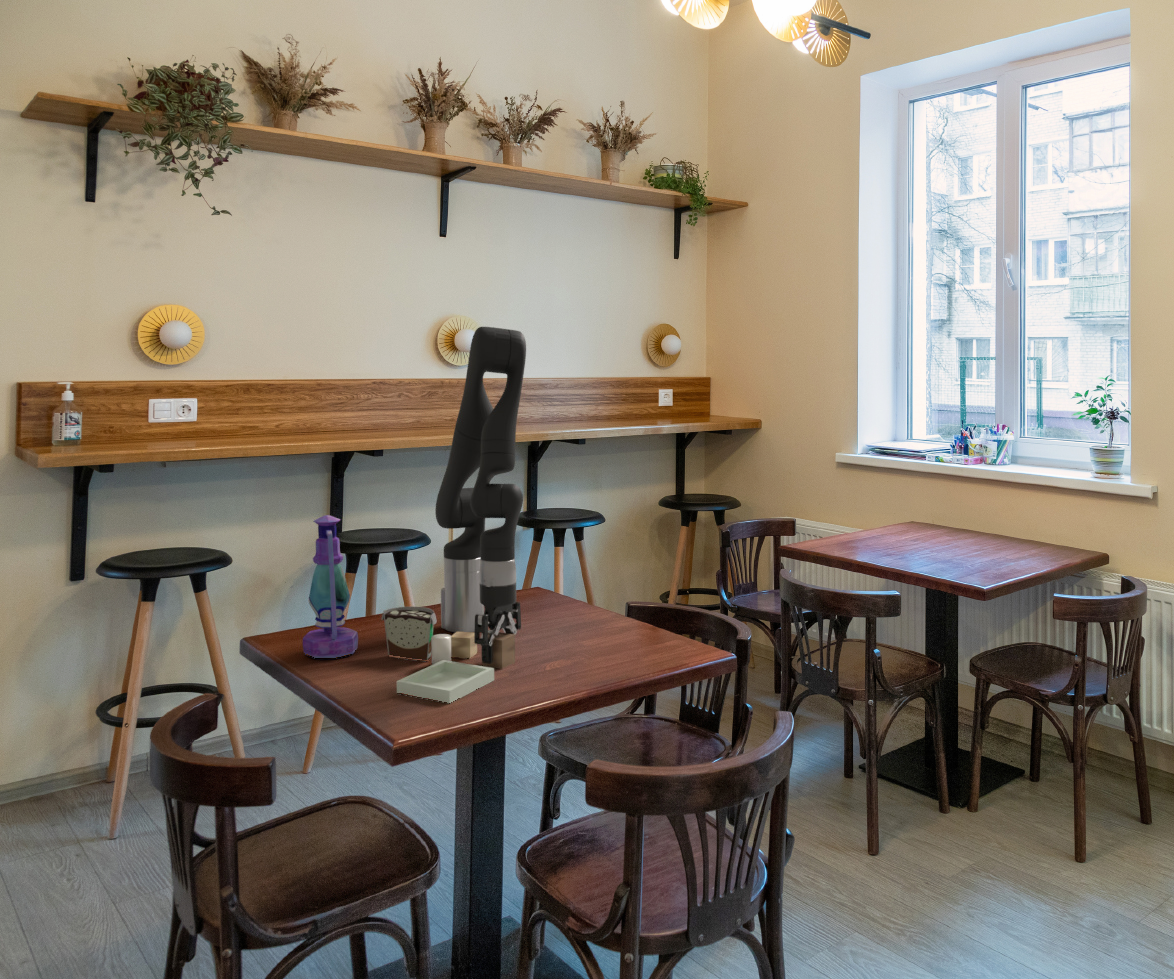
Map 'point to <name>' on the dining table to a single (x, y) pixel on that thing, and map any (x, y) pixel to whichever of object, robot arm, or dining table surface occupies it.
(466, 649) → the oak cube
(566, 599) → the dining table surface
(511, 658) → the walnut block
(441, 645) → the ceramic shaker
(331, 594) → the lantern
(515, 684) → the dining table surface
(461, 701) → the dining table surface
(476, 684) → the tray
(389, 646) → the food container
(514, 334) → the robot arm
